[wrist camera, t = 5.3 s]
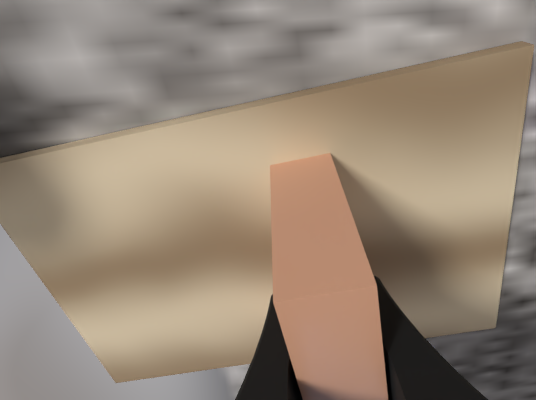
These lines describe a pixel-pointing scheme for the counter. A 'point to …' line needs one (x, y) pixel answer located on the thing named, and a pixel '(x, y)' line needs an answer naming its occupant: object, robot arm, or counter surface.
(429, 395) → the robot arm
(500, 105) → the mat
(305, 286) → the tile
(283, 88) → the counter surface
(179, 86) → the counter surface
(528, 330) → the counter surface
